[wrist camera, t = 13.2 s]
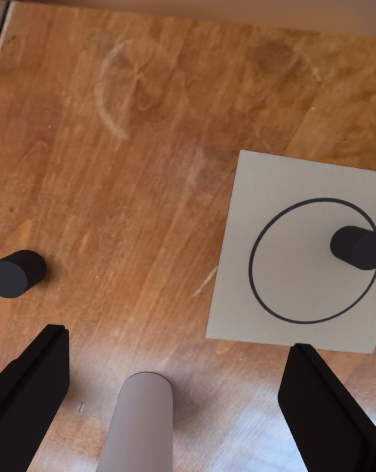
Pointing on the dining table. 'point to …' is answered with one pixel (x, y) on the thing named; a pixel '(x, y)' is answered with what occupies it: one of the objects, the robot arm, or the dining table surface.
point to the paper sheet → (294, 256)
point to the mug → (140, 427)
